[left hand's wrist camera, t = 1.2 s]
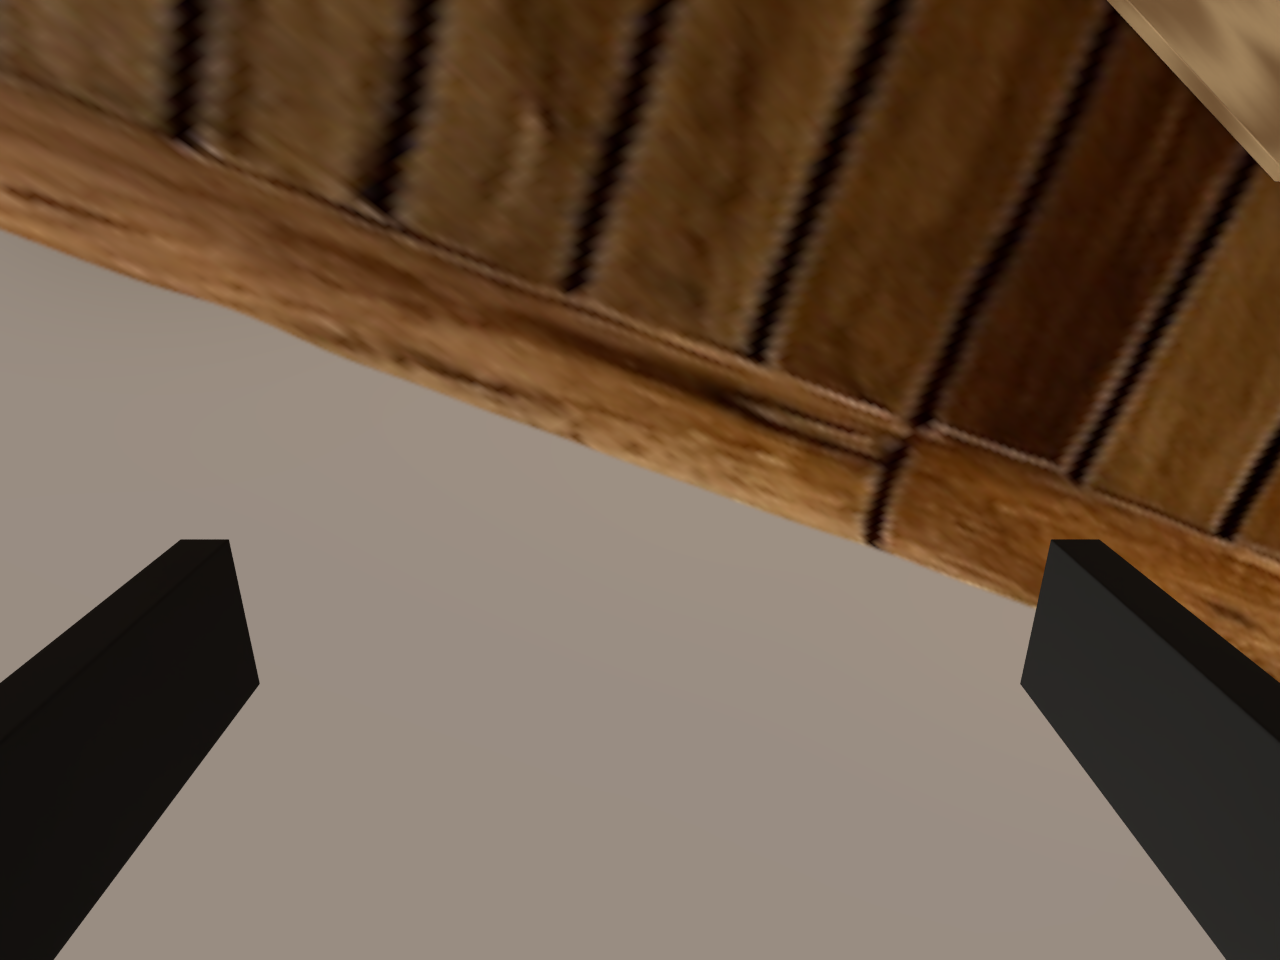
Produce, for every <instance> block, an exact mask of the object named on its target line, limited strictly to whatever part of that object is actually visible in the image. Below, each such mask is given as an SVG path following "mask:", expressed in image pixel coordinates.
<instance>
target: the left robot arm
mask: <svg viewBox="0 0 1280 960" xmlns="http://www.w3.org/2000/svg"><path fill="white" fill-rule="evenodd" d="M1020 684H1021V685H1022V687H1023V688H1024V689H1025V691H1026V692H1027V693H1028V695H1029V696H1030V697H1031V699H1032V700H1033V701H1034V703H1035V704H1036V705H1037V707H1038V708H1039V709H1040V711H1041V712H1042V713H1043V715H1044V716H1045V717H1046V719H1047V720H1048V722H1049V723H1050V724H1051V726H1052V727H1053V728H1054V730H1055V731H1056V732H1057V734H1058V735H1059V736H1060V738H1061V739H1062V740H1063V742H1064V743H1065V744H1066V746H1067V747H1068V748H1069V750H1070V751H1071V752H1072V754H1073V755H1074V756H1075V758H1076V759H1077V760H1078V762H1079V763H1080V764H1081V766H1082V767H1083V768H1084V770H1085V771H1086V772H1087V774H1088V775H1089V776H1090V778H1091V779H1092V780H1093V782H1094V783H1095V784H1096V786H1097V787H1098V788H1099V790H1100V791H1101V792H1102V794H1103V795H1104V796H1105V798H1106V799H1107V800H1108V802H1109V803H1110V804H1111V806H1112V807H1113V809H1114V810H1115V811H1116V813H1117V814H1118V815H1119V817H1120V818H1121V819H1122V821H1123V822H1124V823H1125V825H1126V826H1127V827H1128V829H1129V830H1130V831H1131V833H1132V834H1133V835H1134V837H1135V838H1136V839H1137V841H1138V842H1139V843H1140V845H1141V846H1142V847H1143V849H1144V850H1145V851H1146V853H1147V854H1148V855H1149V857H1150V858H1151V859H1152V861H1153V862H1154V863H1155V865H1156V866H1157V867H1158V869H1159V870H1160V871H1161V873H1162V874H1163V875H1164V877H1165V878H1166V880H1167V881H1168V882H1169V884H1170V885H1171V886H1172V888H1173V889H1174V890H1175V892H1176V893H1177V894H1178V896H1179V897H1180V898H1181V900H1182V901H1183V902H1184V904H1185V905H1186V906H1187V908H1188V909H1189V910H1190V912H1191V913H1192V914H1193V916H1194V917H1195V918H1196V920H1197V921H1198V922H1199V924H1200V925H1201V926H1202V928H1203V929H1204V930H1205V932H1206V933H1207V934H1208V936H1209V937H1210V938H1211V940H1212V941H1213V942H1214V944H1215V945H1216V946H1217V948H1218V949H1219V950H1220V952H1221V953H1222V954H1223V956H1224V957H1225V959H1226V960H1280V683H1279V682H1278V681H1277V680H1275V679H1274V678H1273V677H1271V676H1270V675H1269V674H1268V673H1266V672H1265V671H1264V670H1263V669H1261V668H1260V667H1259V666H1258V665H1256V664H1255V663H1254V662H1253V661H1251V660H1250V659H1249V658H1248V657H1246V656H1245V655H1244V654H1243V653H1241V652H1240V651H1239V650H1238V649H1236V648H1235V647H1234V646H1232V645H1231V644H1230V643H1229V642H1227V641H1226V640H1225V639H1224V638H1222V637H1221V636H1220V635H1219V634H1217V633H1216V632H1215V631H1214V630H1212V629H1211V628H1210V627H1209V626H1207V625H1206V624H1205V623H1204V622H1202V621H1201V620H1200V619H1199V618H1197V617H1196V616H1195V615H1194V614H1192V613H1191V612H1190V611H1188V610H1187V609H1186V608H1185V607H1183V606H1182V605H1181V604H1180V603H1178V602H1177V601H1176V600H1175V599H1173V598H1172V597H1171V596H1170V595H1168V594H1167V593H1166V592H1165V591H1163V590H1162V589H1161V588H1160V587H1158V586H1157V585H1156V584H1155V583H1153V582H1152V581H1151V580H1149V579H1148V578H1147V577H1146V576H1144V575H1143V574H1142V573H1141V572H1139V571H1138V570H1137V569H1136V568H1134V567H1133V566H1132V565H1131V564H1129V563H1128V562H1127V561H1126V560H1124V559H1123V558H1122V557H1121V556H1119V555H1118V554H1117V553H1116V552H1114V551H1113V550H1112V549H1110V548H1109V547H1108V546H1107V545H1105V544H1104V543H1103V542H1102V541H1100V540H1051V543H1050V548H1049V552H1048V557H1047V562H1046V566H1045V571H1044V576H1043V580H1042V585H1041V590H1040V594H1039V599H1038V604H1037V608H1036V613H1035V618H1034V622H1033V627H1032V632H1031V636H1030V641H1029V646H1028V650H1027V655H1026V660H1025V664H1024V669H1023V674H1022V678H1021V683H1020ZM258 685H259V678H258V674H257V669H256V664H255V660H254V655H253V650H252V646H251V641H250V636H249V632H248V627H247V622H246V618H245V613H244V608H243V604H242V599H241V594H240V590H239V585H238V580H237V576H236V571H235V566H234V562H233V557H232V552H231V548H230V543H229V540H180V541H178V542H177V543H176V544H175V545H173V546H172V547H171V548H170V549H168V550H167V551H166V552H164V553H163V554H162V555H161V556H160V557H158V558H157V559H156V560H154V561H153V562H152V563H151V564H149V565H148V566H147V567H146V568H144V569H143V570H142V571H141V572H139V573H138V574H137V575H136V576H134V577H133V578H132V579H131V580H129V581H128V582H127V583H126V584H124V585H123V586H122V587H121V588H119V589H118V590H117V591H115V592H114V593H113V594H112V595H110V596H109V597H108V598H107V599H105V600H104V601H103V602H102V603H100V604H99V605H98V606H97V607H95V608H94V609H93V610H92V611H90V612H89V613H88V614H86V615H85V616H84V617H83V618H82V619H80V620H79V621H78V622H76V623H75V624H74V625H73V626H71V627H70V628H69V629H68V630H66V631H65V632H64V633H63V634H61V635H60V636H59V637H58V638H56V639H55V640H54V641H53V642H51V643H50V644H49V645H48V646H46V647H45V648H44V649H43V650H41V651H40V652H39V653H37V654H36V655H35V656H34V657H32V658H31V659H30V660H29V661H27V662H26V663H25V664H24V665H22V666H21V667H20V668H19V669H17V670H16V671H15V672H14V673H12V674H11V675H10V676H9V677H7V678H6V679H5V680H3V681H2V682H1V683H0V960H54V958H55V957H56V956H57V954H58V953H59V952H60V950H61V949H62V948H63V946H64V945H65V944H66V942H67V941H68V940H69V938H70V937H71V936H72V934H73V933H74V932H75V930H76V929H77V928H78V926H79V925H80V924H81V922H82V921H83V920H84V918H85V917H86V916H87V914H88V913H89V912H90V910H91V909H92V908H93V906H94V905H95V904H96V902H97V901H98V900H99V898H100V897H101V896H102V894H103V893H104V892H105V890H106V889H107V888H108V886H109V885H110V883H111V882H112V881H113V879H114V878H115V877H116V875H117V874H118V873H119V871H120V870H121V869H122V867H123V866H124V865H125V863H126V862H127V861H128V859H129V858H130V857H131V855H132V854H133V853H134V851H135V850H136V849H137V847H138V846H139V845H140V843H141V842H142V841H143V839H144V838H145V837H146V835H147V834H148V833H149V831H150V830H151V829H152V827H153V826H154V825H155V823H156V822H157V820H158V819H159V818H160V817H161V815H162V814H163V813H164V811H165V810H166V809H167V807H168V806H169V804H170V803H171V802H172V800H173V799H174V798H175V796H176V795H177V794H178V792H179V791H180V790H181V788H182V787H183V786H184V784H185V783H186V782H187V780H188V779H189V778H190V776H191V775H192V774H193V772H194V771H195V770H196V768H197V767H198V766H199V764H200V763H201V762H202V760H203V759H204V758H205V756H206V755H207V754H208V752H209V751H210V750H211V748H212V747H213V746H214V744H215V743H216V742H217V740H218V739H219V738H220V736H221V735H222V734H223V732H224V731H225V730H226V728H227V727H228V725H229V724H230V723H231V721H232V720H233V719H234V717H235V716H236V715H237V713H238V712H239V711H240V709H241V708H242V707H243V705H244V704H245V703H246V701H247V700H248V699H249V697H250V696H251V695H252V693H253V692H254V691H255V689H256V688H257V687H258Z"/></svg>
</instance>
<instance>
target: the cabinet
mask: <svg viewBox="0 0 1280 960" xmlns="http://www.w3.org/2000/svg"><path fill="white" fill-rule="evenodd" d="M1107 1H1108V2H1109V3H1110V4H1111V5H1112V6H1113V7H1114V8H1115V9H1116V11H1117V12H1118V13H1119V14H1120V15H1121V16H1122V17H1123V18H1124V19H1125V20H1126V21H1127V22H1128V23H1129V25H1130V26H1131V27H1132V28H1133V29H1134V30H1135V31H1136V32H1137V33H1138V34H1139V35H1140V36H1141V37H1142V39H1143V40H1144V41H1145V42H1146V43H1147V44H1148V45H1149V46H1150V47H1151V48H1152V49H1153V50H1154V51H1155V53H1156V54H1157V55H1158V56H1159V57H1160V58H1161V59H1162V60H1163V61H1164V62H1165V63H1166V64H1167V66H1168V67H1169V68H1170V69H1171V70H1172V71H1173V72H1174V73H1175V74H1176V75H1177V76H1178V77H1179V78H1180V80H1181V81H1182V82H1183V83H1184V84H1185V85H1186V86H1187V87H1188V88H1189V89H1190V90H1191V91H1192V92H1193V94H1194V95H1195V96H1196V97H1197V98H1198V99H1199V100H1200V101H1201V102H1202V103H1203V104H1204V105H1205V107H1206V108H1207V109H1208V110H1209V111H1210V112H1211V113H1212V114H1213V115H1214V116H1215V117H1216V118H1217V119H1218V121H1219V122H1220V123H1221V124H1222V125H1223V126H1224V127H1225V128H1226V129H1227V130H1228V131H1229V132H1230V133H1231V135H1232V136H1233V137H1234V138H1235V139H1236V140H1237V141H1238V142H1239V143H1240V144H1241V145H1242V146H1243V147H1244V149H1245V150H1246V151H1247V152H1248V153H1249V154H1250V155H1251V156H1252V157H1253V158H1254V159H1255V160H1256V162H1257V163H1258V164H1259V165H1260V166H1261V167H1262V168H1263V169H1264V170H1265V171H1266V172H1267V173H1268V174H1269V176H1270V177H1271V178H1272V179H1273V180H1274V181H1280V0H1107Z"/></svg>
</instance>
